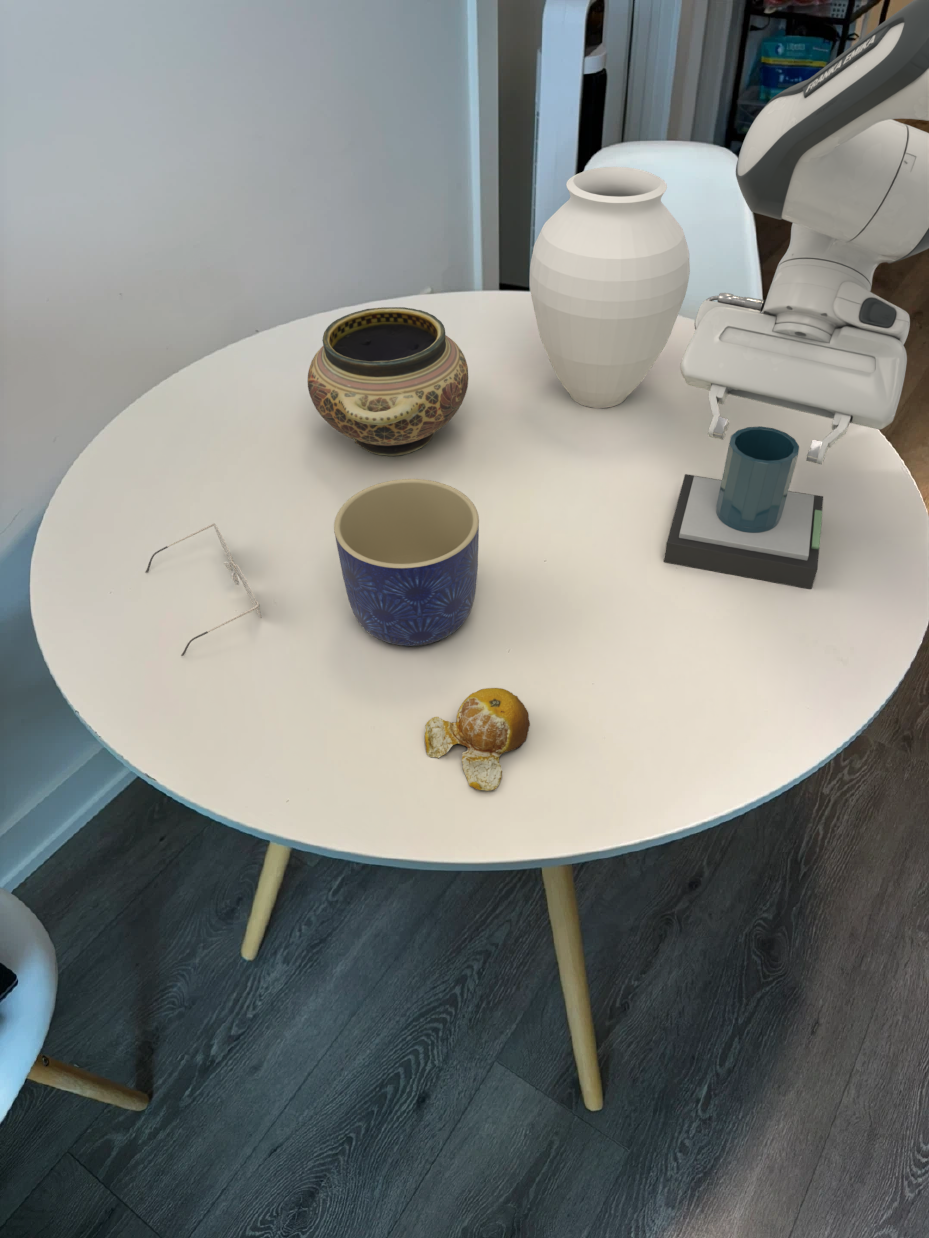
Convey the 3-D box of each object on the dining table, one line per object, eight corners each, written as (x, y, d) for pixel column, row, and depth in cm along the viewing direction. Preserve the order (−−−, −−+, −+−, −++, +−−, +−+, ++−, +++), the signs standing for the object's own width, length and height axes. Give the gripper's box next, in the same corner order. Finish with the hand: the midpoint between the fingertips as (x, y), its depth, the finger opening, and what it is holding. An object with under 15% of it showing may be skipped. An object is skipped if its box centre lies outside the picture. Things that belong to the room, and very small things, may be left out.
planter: (323, 604, 87) (307, 511, 80) (431, 553, 92) (425, 462, 85) (393, 681, 80) (383, 587, 72) (506, 622, 85) (508, 528, 78)
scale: (817, 515, 96) (824, 491, 94) (811, 589, 87) (819, 564, 85) (681, 493, 99) (685, 469, 97) (663, 562, 91) (667, 537, 89)
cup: (782, 500, 92) (800, 432, 87) (777, 538, 88) (796, 468, 83) (719, 490, 94) (733, 422, 88) (712, 526, 90) (726, 457, 84)
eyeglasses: (268, 628, 85) (257, 597, 82) (184, 664, 83) (170, 633, 80) (223, 545, 94) (211, 515, 91) (146, 575, 92) (132, 545, 89)
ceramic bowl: (358, 400, 120) (315, 291, 110) (490, 371, 115) (457, 256, 106) (321, 515, 102) (265, 398, 92) (475, 487, 98) (433, 361, 88)
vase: (606, 345, 123) (624, 144, 106) (701, 401, 113) (739, 186, 95) (498, 385, 116) (498, 176, 99) (588, 448, 105) (607, 226, 88)
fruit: (411, 741, 75) (408, 712, 73) (482, 686, 79) (482, 657, 77) (485, 800, 71) (484, 771, 68) (556, 739, 75) (558, 709, 72)
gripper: (702, 275, 88) (654, 414, 89) (928, 318, 81) (875, 468, 82) (708, 301, 94) (664, 431, 95) (920, 344, 87) (870, 483, 88)
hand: (763, 449), depth 88 cm, fingers open, 8 cm apart
